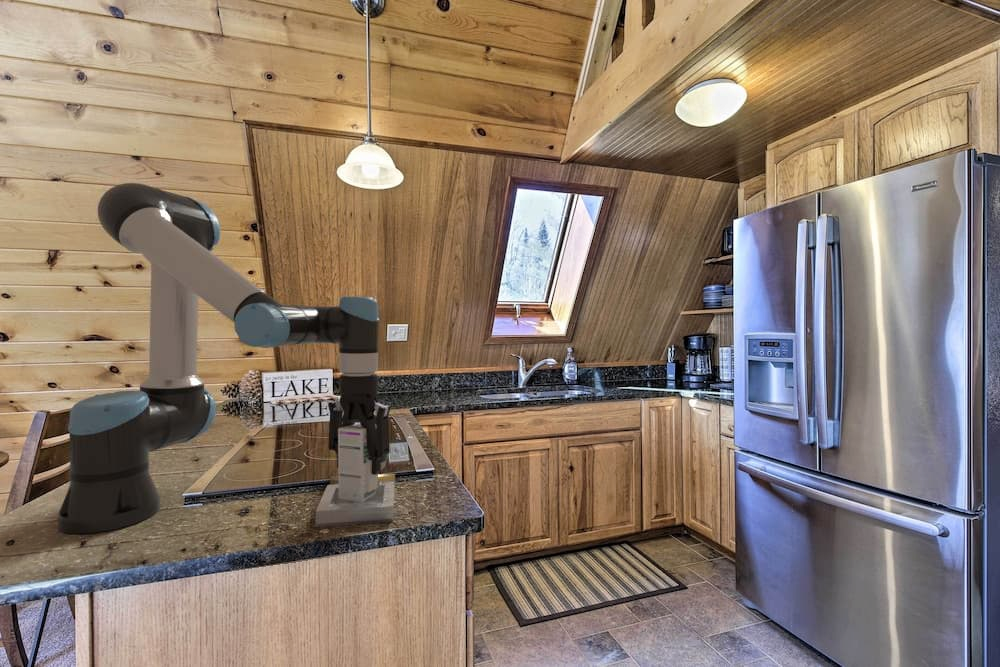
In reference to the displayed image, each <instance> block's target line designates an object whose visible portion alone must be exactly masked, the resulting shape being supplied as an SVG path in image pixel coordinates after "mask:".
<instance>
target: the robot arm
mask: <svg viewBox="0 0 1000 667" xmlns="http://www.w3.org/2000/svg"><path fill="white" fill-rule="evenodd" d="M97 217H98V219H99V220H98V221H99V223H100V225H101V226H102V228H103V230H104V231H105V232H106V233H107V234H108V236H110V237H111V238H112V239H113V240H114V241H115V242H117V243H118V244H119V245H121V246H122V247H123V248H125V249H126V250H128V251H129V252H132V253H137V254H142V257H144V259H146V260H147V261H148V262H149V264H150V301H149V302H150V308H149V309H150V311H149V312H150V313H149V315H150V316H149V318H150V319H149V354H148V356H149V357H148V358H149V359H148V360H149V362H148V363H149V367H148V377H146V378H145V379H144V380H143V381H142V382H141V383H140V384H139V390H123V391H122V390H118V391H115V392H107V393H106V392H105V393H101V394H97V395H93V396H90V397H87V398H84V399H82V400H80V401H77V403H75V404H73V406H72V407H71V410H70V412H69V423H68V426H67V430H68V432H69V433H68V434H69V474H70V476H69V477H70V478H69V480H70V482H69V486H68V489H67V492H66V494H65V496H64V499H63V502H62V504H61V507H60V509H59V512H58V514H57V515H58V516H57V529H58V530H59V531H60V532H62V533H66V534H74V535H77V534H78V535H81V534H82V535H83V534H95V533H102V532H108V531H112V530H117V529H121V528H125V527H127V526H131V525H132V526H133V525H135V524H137V523H140V522H143V521H144V520H147V519H149V518H150V517H151V518H152V516H154V515H155V514H157V513H158V512H159V510H161V500H160V499H161V498H160V494H159V492H158V490H157V487H156V485H155V483H154V480H153V478H152V475H151V473H150V467H149V465H150V463H149V462H150V461H149V453H151V452H155V451H158V450H160V449H161V450H162V449H164V448H168V447H171V446H174V445H177V444H184V443H188V442H190V441H191V440H193V439H195V438H197V437H200V436H202V435H204V434H205V433H206V432H207V431H208V430H209V428H210V427H212V424H213V423H214V420H215V418H216V411H217V408H216V402H215V399H214V397H212V394H211V392H209V391H208V390H207V389H206V388H205V381H204V379H202V378H201V377H199V375H198V374H197V373H198V372H197V369H198V368H197V364H198V362H197V361H198V325H199V323H198V322H199V321H198V320H199V298H201V299H202V300H203V301H205V302H206V303H207V304H208V305H209V306H211V307H213V309H215V310H216V311H218V312H219V313H220V314H222V315H223V316H225V317H226V319H229V320H230V321H231V322H232V323H234V331H235V333H236V335H237V337H238V339H239V340H240V342H242V343H243V344H245V345H246V346H249V347H252V348H262V349H269V348H275V347H284V346H291V345H292V346H293V345H295V346H296V345H307V344H334V345H335V344H339V346H338V347H339V357H338V358H339V359H338V360H339V361H338V362H339V363H338V364H339V366H338V371H339V373H341V375H340V376H339V379H338V380H339V381H338V382H339V383H338V384H339V385H338V387H339V388H338V389H339V391H338V392H339V393H340V395H341V396H340V399H339V400H333V401H328V404H327V407H328V410H329V423H328V425H329V427H328V443H327V444H328V446H327V447H328V450H329V451H333V452H334V453H335V454H336V469H338V429H339V428H342V427H346V426H350V425H353V424H355V422H356V421H357V420H358V421H360V425H361V426H362V427H363V428H365V429H366V441H367V446H368V451H369V455H370V457H369V458H368V459H366V492H371V491H373V490H374V489H376V488H378V474H380V473H381V472H382V471H381V457H382V456H385V455H387V454H388V455H389V454H390V452H391V447H390V445H391V444H390V427H389V426H390V424H389V421H390V420H389V416H390V412H391V406H390V404H387V405H384V404H382V403H379V400H378V396H377V394H378V391H379V375H378V374H377V373H378V371H379V322H380V318H379V303H378V301H377V299H376V298H374V297H370V296H342V297H340V299H339V301H338V302H339V303H338V306H320V305H319V306H318V305H317V306H316V305H315V306H314V305H295V304H283V303H280V302H279V301H277V300H276V299H275V298H273V297H272V296H270V295H269V294H268V293H267V292H266V291H264V290H263V289H261V288H260V287H258V286H257V285H256V284H255V283H253V282H252V281H251V280H249V279H248V278H246V277H245V276H244V275H242V274H241V273H239V272H238V271H237V270H235V269H234V268H233V267H232V266H230V265H229V264H227V263H226V262H225V261H223V260H222V259H221V258H219V257H218V256H217V255H216V254H214V253H213V252H211V251H213V250H214V249H215V246H216V245H218V243H219V241H220V236H221V228H220V227H221V226H220V223H219V220H218V217H217V215H216V214H215V212H214V211H212V210H211V208H210V207H209V206H207V205H206V204H204V203H203V202H200V201H198V200H195V199H194V198H191V197H190V196H184V195H181V194H177V193H174V192H173V193H172V192H170V191H166V190H162V189H159V188H157V187H153V186H150V185H147V184H144V183H139V182H137V183H135V182H128V183H127V182H125V183H119V184H118V185H114V186H112V187H110V188H109V189H108V190H107V191H105V192H104V193H103V195H102V196H101V197H100V199H99V201H98V204H97ZM376 372H377V373H376ZM375 415H376V419H375ZM367 419H369V420H367ZM375 421H376V426H375Z"/></svg>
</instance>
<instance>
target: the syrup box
mask: <svg viewBox="0 0 1000 667" xmlns="http://www.w3.org/2000/svg"><path fill="white" fill-rule="evenodd" d="M375 426H376V424H375ZM369 457H370V455H369V451H368V446H367V441H366V429H365V428H363V427H362V426H361V425H360V422H359V423H356V422H355V424H353V425H350V426H346V427H342V428H339V429H338V468H337V469H338V471H337V472H338V476H339V499H343V500H348V501H354V502H361V503H362V502H364V501H365V500H366V499H368V498H370V497H371V496H373V495H375V494H377V493H378V488H376V489H374V490H373V491H371V492H366V459H368V458H369Z"/></svg>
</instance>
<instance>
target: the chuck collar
mask: <svg viewBox="0 0 1000 667" xmlns="http://www.w3.org/2000/svg"><path fill="white" fill-rule="evenodd" d="M320 498H321V499H320V501H319V503H318V505H317V507H316V510H315V527H316V528H323V527H333V526H334V527H335V526H351V525H352V526H353V525H365V524H378V523H381V524H382V523H393V522H394V511H395V510H394V507H395V487H394V481H393V482H378V493H377V494H375V495H373V496H371V497H370V498H368V499H366V500H365V501H364V502H362V503H361V502H354V501H348V500H343V499H339V484H335V485H330V484H327V485H326V488H325V490H324V491H323V494H322V496H321V497H320Z"/></svg>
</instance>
